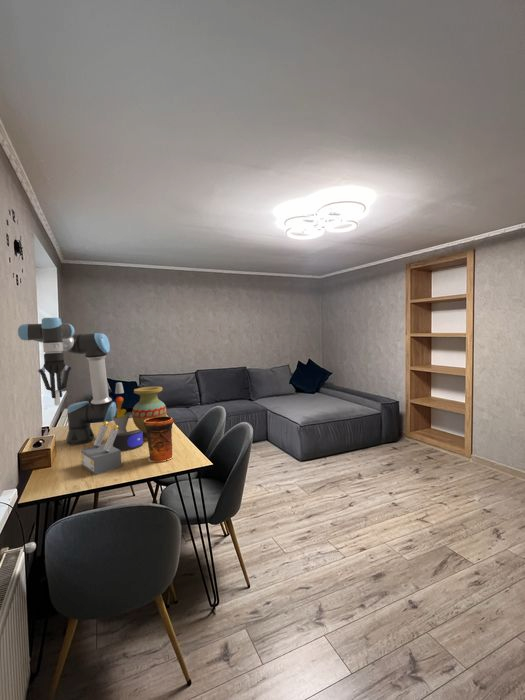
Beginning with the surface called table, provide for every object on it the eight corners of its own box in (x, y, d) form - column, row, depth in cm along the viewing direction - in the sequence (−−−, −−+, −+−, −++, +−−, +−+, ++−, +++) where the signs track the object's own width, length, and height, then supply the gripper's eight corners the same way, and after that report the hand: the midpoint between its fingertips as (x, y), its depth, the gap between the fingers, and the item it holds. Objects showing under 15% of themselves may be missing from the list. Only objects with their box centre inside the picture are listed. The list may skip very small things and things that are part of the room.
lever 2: (102, 450, 161) (113, 423, 165) (106, 451, 163) (117, 425, 166) (104, 452, 159) (115, 424, 163) (109, 453, 161) (120, 426, 164)
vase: (132, 436, 214) (129, 388, 212) (165, 431, 222) (163, 385, 220) (134, 445, 196) (131, 392, 194) (170, 439, 203) (167, 389, 202)
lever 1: (92, 445, 170) (103, 420, 173) (97, 446, 171) (107, 421, 175) (95, 446, 167) (105, 421, 171) (99, 447, 169) (110, 422, 173)
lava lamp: (119, 444, 198) (115, 384, 196) (111, 442, 203) (107, 383, 201) (133, 440, 205) (130, 381, 203) (125, 437, 211) (121, 381, 209)
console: (80, 466, 167) (79, 450, 166) (107, 458, 176) (106, 443, 175) (94, 475, 155) (92, 457, 154) (121, 466, 164) (120, 450, 163)
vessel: (144, 465, 164) (142, 423, 164) (146, 455, 178) (144, 417, 178) (175, 461, 168) (173, 420, 168) (175, 452, 182) (173, 414, 181)
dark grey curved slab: (115, 453, 183) (114, 436, 182) (112, 451, 186) (111, 434, 186) (145, 446, 193) (144, 430, 192) (142, 444, 196) (141, 428, 196)
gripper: (38, 353, 146) (43, 408, 147) (72, 351, 155) (76, 403, 156) (34, 353, 151) (38, 406, 152) (67, 351, 160) (70, 401, 162)
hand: (57, 404), depth 154 cm, fingers closed
